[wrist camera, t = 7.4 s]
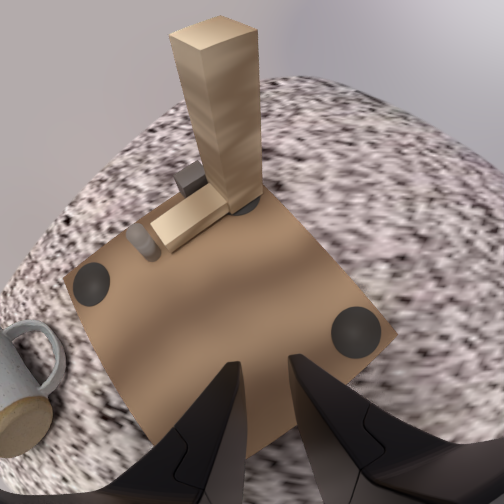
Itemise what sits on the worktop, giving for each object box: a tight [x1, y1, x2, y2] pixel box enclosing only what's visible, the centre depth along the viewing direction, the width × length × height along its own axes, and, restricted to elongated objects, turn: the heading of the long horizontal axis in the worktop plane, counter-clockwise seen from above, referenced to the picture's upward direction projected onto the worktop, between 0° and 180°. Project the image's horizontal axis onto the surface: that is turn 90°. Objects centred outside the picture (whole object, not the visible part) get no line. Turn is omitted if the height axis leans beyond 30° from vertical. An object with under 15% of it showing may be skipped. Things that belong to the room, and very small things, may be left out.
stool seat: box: [63, 160, 398, 459], centre depth 17 cm, size 17×16×4 cm
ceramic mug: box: [0, 320, 66, 458], centre depth 13 cm, size 11×8×8 cm
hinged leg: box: [150, 16, 263, 253], centre depth 14 cm, size 7×3×12 cm, turn 128°
